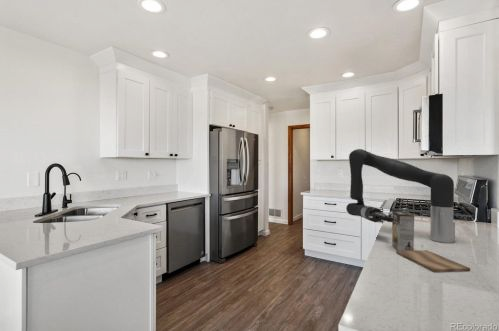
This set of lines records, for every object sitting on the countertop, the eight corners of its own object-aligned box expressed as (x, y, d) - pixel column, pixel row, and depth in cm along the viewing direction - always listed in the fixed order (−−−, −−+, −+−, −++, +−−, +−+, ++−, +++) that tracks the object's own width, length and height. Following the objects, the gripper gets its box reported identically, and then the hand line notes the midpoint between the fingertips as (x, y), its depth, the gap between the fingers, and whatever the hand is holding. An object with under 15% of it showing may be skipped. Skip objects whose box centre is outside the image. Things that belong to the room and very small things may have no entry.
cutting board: (426, 252, 113) (426, 250, 113) (470, 271, 93) (470, 268, 93) (396, 253, 111) (396, 251, 111) (434, 272, 92) (434, 269, 92)
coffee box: (391, 245, 123) (391, 211, 123) (406, 246, 121) (406, 211, 122) (398, 251, 114) (398, 214, 114) (414, 252, 112) (415, 215, 113)
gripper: (359, 206, 142) (378, 212, 125) (382, 206, 143) (404, 212, 126) (359, 220, 142) (378, 228, 125) (382, 220, 143) (404, 227, 126)
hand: (391, 220), depth 126 cm, fingers closed
